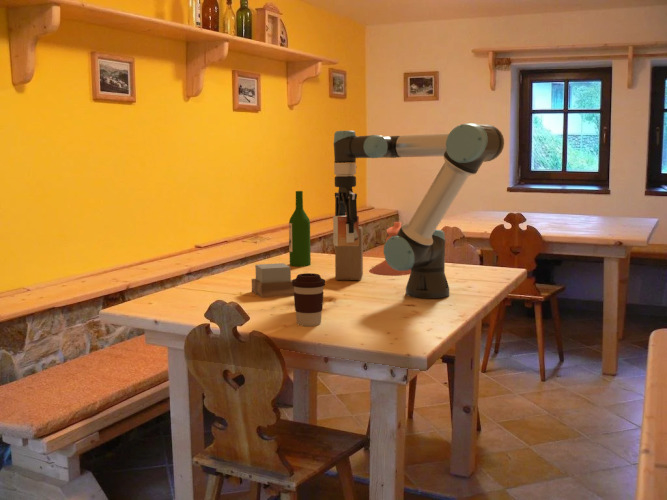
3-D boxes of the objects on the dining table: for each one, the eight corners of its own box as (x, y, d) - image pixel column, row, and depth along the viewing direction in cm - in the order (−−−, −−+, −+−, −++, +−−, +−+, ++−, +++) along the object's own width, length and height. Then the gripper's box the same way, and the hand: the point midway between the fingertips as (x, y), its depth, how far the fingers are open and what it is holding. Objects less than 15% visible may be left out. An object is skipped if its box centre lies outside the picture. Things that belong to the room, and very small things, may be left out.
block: (362, 276, 290) (362, 225, 287) (361, 280, 280) (361, 228, 278) (337, 276, 291) (337, 225, 288) (335, 280, 281) (334, 228, 279)
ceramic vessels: (415, 277, 287) (416, 229, 285) (362, 276, 291) (362, 228, 289) (422, 264, 321) (423, 221, 319) (374, 263, 325) (374, 221, 323)
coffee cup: (324, 320, 227) (324, 272, 225) (325, 327, 217) (325, 277, 215) (292, 320, 227) (292, 272, 225) (292, 328, 217) (291, 277, 215)
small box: (337, 246, 256) (336, 216, 255) (333, 245, 261) (332, 215, 260) (359, 245, 258) (359, 215, 257) (354, 244, 264) (354, 214, 262)
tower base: (295, 295, 252) (295, 281, 252) (262, 298, 248) (261, 284, 247) (284, 290, 263) (284, 276, 263) (251, 292, 259) (251, 278, 258)
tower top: (290, 281, 252) (290, 267, 251) (262, 283, 249) (261, 268, 248) (283, 277, 261) (283, 263, 261) (255, 278, 258) (255, 264, 257)
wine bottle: (287, 266, 317) (286, 190, 313) (307, 265, 320) (306, 190, 316) (292, 269, 309) (291, 191, 305) (313, 268, 312) (312, 191, 308)
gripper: (366, 175, 250) (367, 243, 252) (343, 175, 267) (344, 238, 270) (346, 176, 247) (347, 244, 250) (324, 175, 264) (326, 239, 267)
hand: (346, 241), depth 260 cm, fingers closed on small box, 6 cm apart
